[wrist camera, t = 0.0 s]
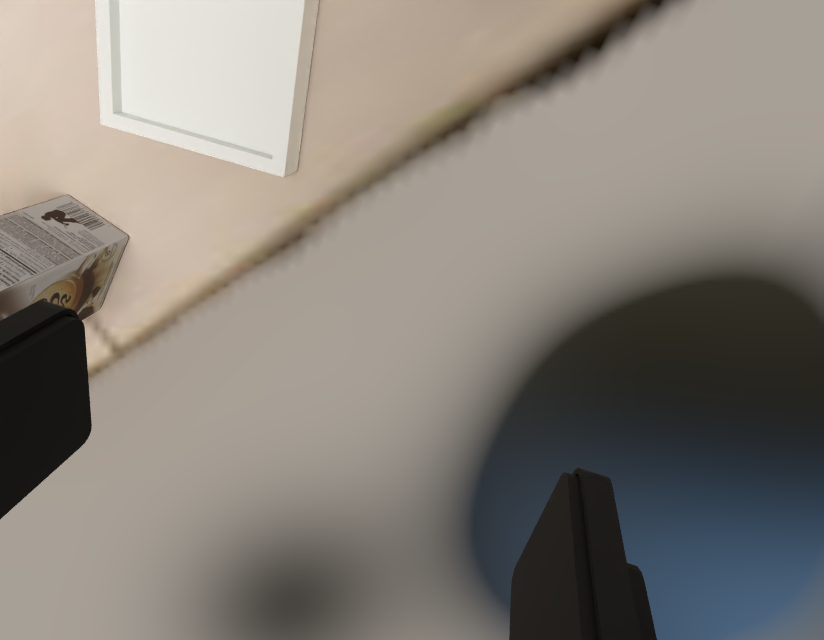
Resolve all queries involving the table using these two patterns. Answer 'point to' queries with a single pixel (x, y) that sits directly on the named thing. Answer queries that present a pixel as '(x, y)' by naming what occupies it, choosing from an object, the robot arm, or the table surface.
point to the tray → (209, 75)
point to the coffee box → (57, 257)
